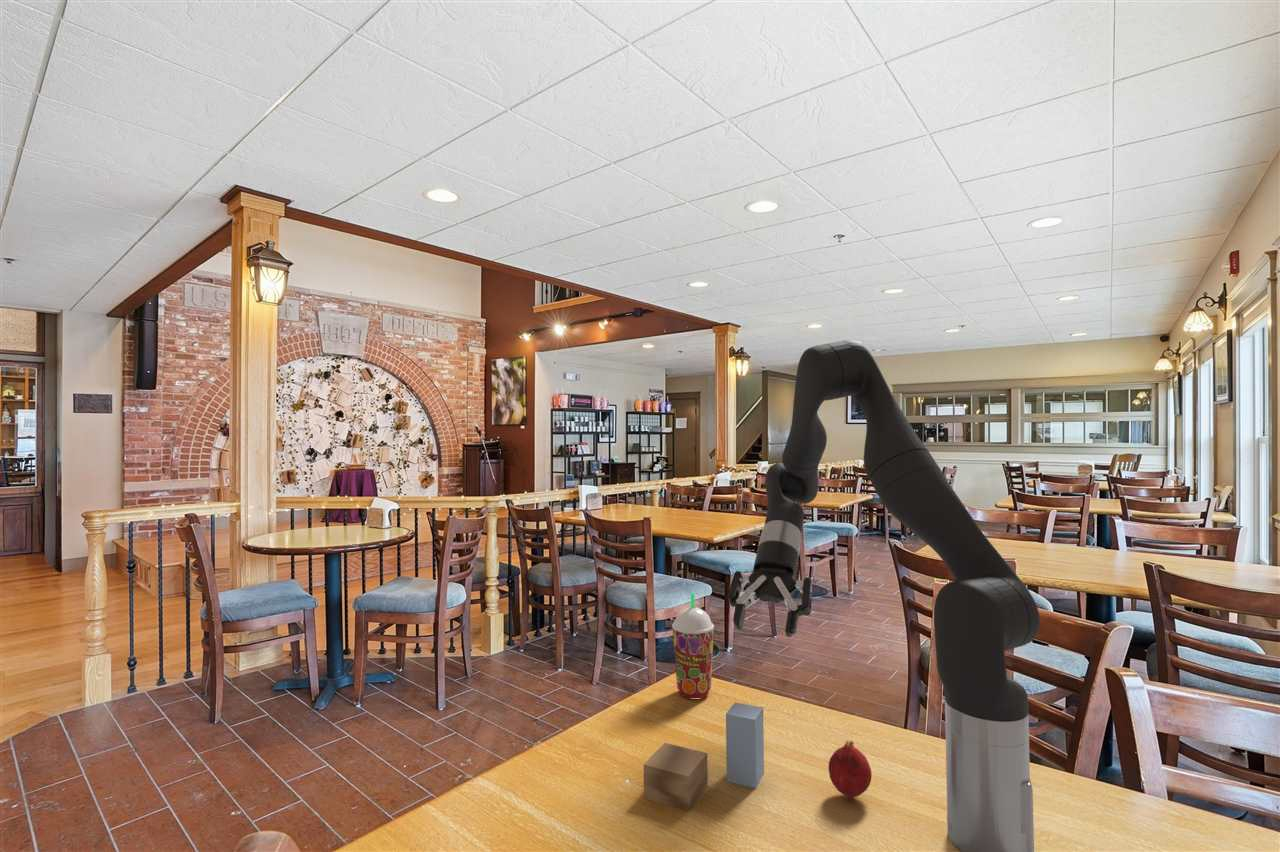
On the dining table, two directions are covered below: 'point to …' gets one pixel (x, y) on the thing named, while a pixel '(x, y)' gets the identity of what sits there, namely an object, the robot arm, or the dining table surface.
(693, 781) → the walnut block
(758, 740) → the pillar
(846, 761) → the onion
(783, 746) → the dining table surface
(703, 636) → the smoothie
